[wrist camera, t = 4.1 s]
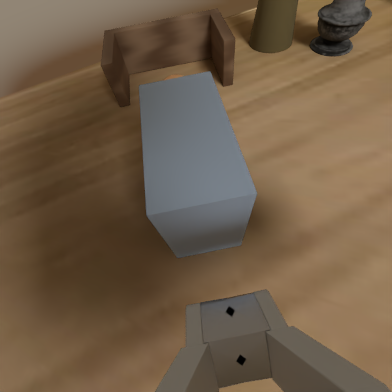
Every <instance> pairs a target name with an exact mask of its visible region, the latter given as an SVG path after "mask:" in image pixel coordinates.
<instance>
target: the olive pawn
mask: <svg viewBox="0 0 392 392" xmlns="http://www.w3.org/2000/svg"><path fill="white" fill-rule="evenodd" d="M297 4H298V0H259V1H258V5H257V10H256V14H255V19H254V23H253V28H252V32H251V36H250V41H249V44H250V47H251V48H253V49H254V50H256V51H259V52H264V53H275V52H280V51H284V50H286V49H287V48H289V47H290V46H291V44H292V38H293V31H294V25H295V18H296V11H297Z"/></svg>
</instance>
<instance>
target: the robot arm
mask: <svg viewBox="0 0 392 392" xmlns="http://www.w3.org/2000/svg"><path fill="white" fill-rule="evenodd" d="M268 378H272V379H273V380H274V381H275V383H276V384H277V385H278V386H279V387H280V388H281V389H282V390H283V391H284V392H391V391H390V390H389V389H388V387H387V386H386V385H385V384H384V383H382V382H380V381H379V380H377V379H376V378H374V377H373V376H371V375H369V374H368V373H366V372H365V371H363V370H362V369H360V368H358V367H357V366H355V365H354V364H352V363H351V362H349V361H347V360H346V359H344V358H343V357H341V356H340V355H338V354H336V353H335V352H333V351H332V350H330V349H328V348H327V347H325V346H324V345H322V344H321V343H319V342H317V341H316V340H314V339H313V338H311V337H310V336H308V335H306V334H305V333H303V332H302V331H300V330H299V329H297V328H295V327H294V326H291V327H288V325H287V323H286V321H285V320H284V318H283V316H282V314H281V313H280V311H279V309H278V307H277V305H276V304H275V302H274V300H273V298H272V297H271V295H270V293H269V291H268V290H266V289H265V290H261V291H256V292H253V293H248V294H243V295H238V296H234V297H229V298H224V299H218V300H212V301H206V302H201V303H197V304H191V305H187V306H186V347H185V348H181V349H180V351H179V353H178V354H177V356H176V358H175V359H174V361H173V363H172V364H171V366H170V368H169V369H168V371H167V373H166V374H165V376H164V378H163V379H162V381H161V383H160V384H159V386H158V388H157V389H156V391H155V392H219V388H222V387H227V386H231V385H235V384H239V383H244V382H249V381H255V380H262V379H268Z"/></svg>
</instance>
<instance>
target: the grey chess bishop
mask: <svg viewBox="0 0 392 392" xmlns="http://www.w3.org/2000/svg"><path fill="white" fill-rule="evenodd" d="M365 1H366V0H334V1H333V2H332V3H331V4H329V5H326V6H324V7H322V8H321V9H320V10H319V12H318V17H319V20H318V32H319V34H320V36H319V37H316V38H315V39H313V40H312V41H311V43H310V48H311V49H312V50H313V51H314V52H316V53H318V54H321V55H325V56H340V55H344V54H347V53H349V52H350V51H351V50H352V48H353V45H352V42H351V41H350V40H349V38H351V37H352V36H354V35H355V34H357V32H358V31H359V30H360V29H361V28H362V27H363V26H364V24H365V22H366V21H368V20H369V19H370V18H371V16H372V12H371V11H370V9H368V8H367V7H365Z"/></svg>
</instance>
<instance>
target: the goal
mask: <svg viewBox="0 0 392 392" xmlns="http://www.w3.org/2000/svg"><path fill="white" fill-rule="evenodd" d="M234 53H235V37H234V36H233V34H232V32H231V30H230V29H229V27H228V25H227V24H226V22H225V20H224V18H223V17H222V15H221V13H220V12H219V10H218V9H213V10H208V11H202V12H198V13H192V14H187V15H182V16H178V17H173V18H167V19H162V20H157V21H152V22H147V23H142V24H138V25H132V26H127V27H122V28H117V29H112V30H106V31H105V33H104V41H103V50H102V59H101V67H102V69H103V71H104V73H105V75H106V78H107V80H108V82H109V84H110V86H111V88H112V90H113V92H114V94H115V97H116V99H117V101H118V103H119V105H120V107H122V106H127V105H130V90H129V74H134V73H139V72H144V71H149V70H154V69H159V68H164V67H169V66H174V65H179V64H184V63H189V62H194V61H199V60H204V59H209V58H212V60H213V63H214V65H215V67H216V70H217V72H218V75H219V77H220V80H221V82H222V84H223V86H227V85H232V84H233V70H234Z"/></svg>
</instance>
